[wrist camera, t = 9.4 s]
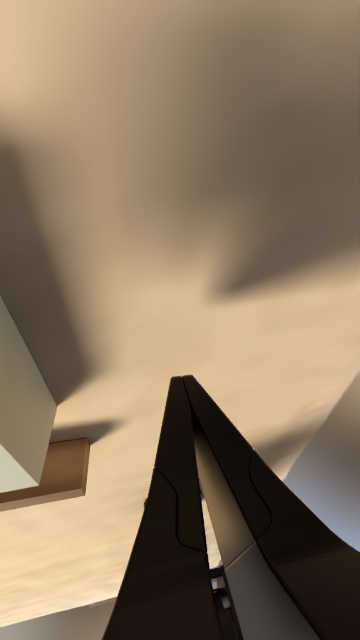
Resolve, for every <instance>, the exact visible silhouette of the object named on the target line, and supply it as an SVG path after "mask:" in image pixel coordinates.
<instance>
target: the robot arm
mask: <svg viewBox="0 0 360 640" xmlns="http://www.w3.org/2000/svg"><path fill="white" fill-rule="evenodd" d="M198 475H199V476H198ZM199 479H200V482H201V486H202V490H203V493H204V497H205V501H206V504H207V508H208V511H209V515H210V519H211V522H212V526H213V530H214V533H215V537H216V540H217V544H218V548H219V551H220V555H221V559H222V562H223V565H220V566H219V567H218V568H215V569H211V570H210V568H209V561H208V554H207V544H206V535H205V527H204V519H203V510H202V502H201V498H202V492H201V491H200V485H199ZM216 581H217V587H218V588H216V589H213V587H212V582H216ZM102 640H360V552H359V551H357V550H355V549H354V548H353V547H351V546H350V545H348V544H347V543H346V542H344V541H343V540H342V539H340V538H339V537H338V536H337V535H336V534H334V533H333V532H332V531H331V530H330V529H329V528H328V527H327V526H326V525H325V524H324V523H323V522H322V521H321V520H320V519H319V518H318V517H317V516H316V515H315V514H314V513H313V512H312V511H311V510H310V509H309V508H308V507H307V506H306V505H305V504H304V503H303V502H302V501H301V500H300V499H299V498H298V497H297V496H296V495H295V494H294V493H293V492H292V491H291V490H290V489H289V488H288V487H287V486H286V485H285V484H284V483H283V482H282V481H281V480H280V479H279V478H278V477H277V476H276V474H275V473H274V472H273V471H272V470H271V469H270V468H269V467H268V465H267V464H266V463H265V462H264V461H263V460H262V458H261V457H260V456H259V455H258V454H257V452H256V451H255V450H253V448H252V446H251V445H250V444H249V443H248V442H247V440H246V439H245V438H244V437H243V436H242V434H241V433H240V432H239V431H238V430H237V428H236V427H235V426H234V425H233V423H232V422H231V421H230V420H229V419H228V417H227V416H226V415H225V414H224V413H223V411H222V410H221V409H220V408H219V407H218V405H217V404H216V403H215V402H214V401H213V399H212V398H211V397H210V396H209V395H208V393H207V392H206V391H205V390H204V388H203V387H202V386H201V385H200V384H199V382H198V381H197V380H196V379H195V378H194V376H193V375H184V376H182V377H181V376H175V377H171V380H170V385H169V390H168V396H167V401H166V406H165V412H164V417H163V422H162V427H161V433H160V438H159V443H158V448H157V454H156V459H155V464H154V469H153V474H152V479H151V484H150V489H149V493H148V498H147V501H146V502H144V512H143V516H142V519H141V523H140V526H139V529H138V532H137V536H136V539H135V542H134V545H133V549H132V552H131V555H130V558H129V562H128V565H127V568H126V571H125V574H124V578H123V581H122V584H121V587H120V590H119V593H118V596H117V599H116V602H115V605H114V608H113V610H112V613H111V616H110V619H109V622H108V624H107V627H106V629H105V632H104V635H103V637H102Z"/></svg>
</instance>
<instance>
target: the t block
mask: <svg viewBox="0 0 360 640" xmlns="http://www.w3.org/2000/svg"><path fill="white" fill-rule="evenodd" d="M56 410H57V404H56V402H55V400H54V398H53V397H52V395H51V393H50V391H49V389H48V387H47V385H46V383H45V381H44V379H43V377H42V375H41V373H40V371H39V369H38V367H37V365H36V363H35V362H34V360H33V358H32V356H31V354H30V352H29V350H28V348H27V346H26V344H25V342H24V340H23V338H22V336H21V334H20V332H19V330H18V328H17V327H16V325H15V323H14V321H13V319H12V317H11V315H10V313H9V311H8V309H7V307H6V305H5V303H4V301H3V299H2V297H1V295H0V493H2V492H7V491H13V490H18V489H23V488H28V487H34V486H39V483H40V479H41V475H42V471H43V466H44V462H45V458H46V453H47V449H48V445H49V440H50V436H51V432H52V427H53V423H54V419H55V415H56Z"/></svg>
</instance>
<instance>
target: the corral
mask: <svg viewBox="0 0 360 640" xmlns="http://www.w3.org/2000/svg"><path fill="white" fill-rule="evenodd" d="M89 453H90V444H89V442H88V439H87V438H84V439H78V440H71V441H64V442H57V443H51V444H49V445H48V449H47V453H46V458H45V462H44V466H43V471H42V475H41V479H40V483H39V486H34V487H28V488H23V489H18V490H13V491H7V492H2V493H0V512H1V511H6V510H11V509H17V508H22V507H27V506H32V505H38V504H43V503H48V502H54V501H59V500H64V499H70V498H75V497H80V496H85V491H86V482H87V472H88V463H89Z"/></svg>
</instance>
